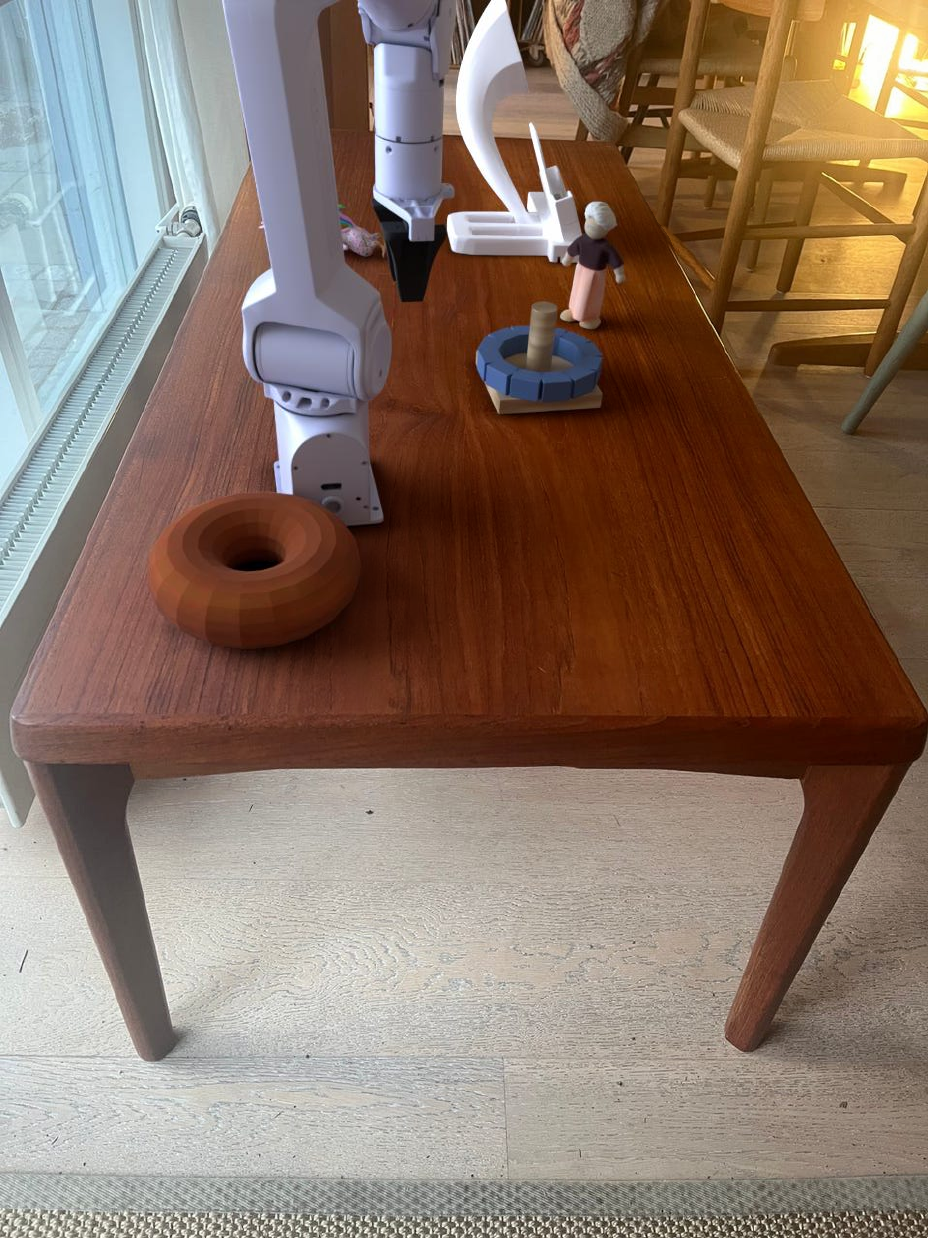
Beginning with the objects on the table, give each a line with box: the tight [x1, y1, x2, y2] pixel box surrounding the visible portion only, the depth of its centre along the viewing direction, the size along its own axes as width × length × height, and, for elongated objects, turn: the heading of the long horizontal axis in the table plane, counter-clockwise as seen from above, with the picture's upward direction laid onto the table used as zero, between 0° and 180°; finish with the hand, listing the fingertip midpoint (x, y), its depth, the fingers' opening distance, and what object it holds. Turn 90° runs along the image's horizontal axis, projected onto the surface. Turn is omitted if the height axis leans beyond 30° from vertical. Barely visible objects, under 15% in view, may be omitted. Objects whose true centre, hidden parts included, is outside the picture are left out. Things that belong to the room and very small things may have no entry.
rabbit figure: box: [258, 204, 387, 259], centre depth 115 cm, size 6×6×15 cm
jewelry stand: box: [446, 0, 583, 264], centre depth 118 cm, size 25×16×25 cm, turn 6°
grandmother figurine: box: [559, 201, 627, 330], centre depth 102 cm, size 8×4×13 cm, turn 62°
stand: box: [475, 301, 604, 415], centre depth 93 cm, size 10×10×8 cm
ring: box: [476, 324, 604, 402], centre depth 93 cm, size 12×12×2 cm
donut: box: [146, 490, 362, 650], centre depth 69 cm, size 15×15×5 cm
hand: (407, 289), depth 91 cm, fingers open, 4 cm apart
